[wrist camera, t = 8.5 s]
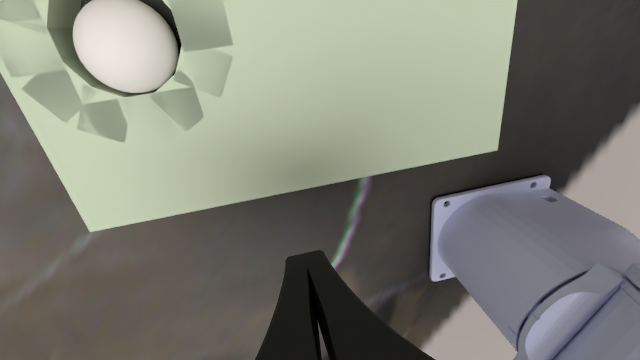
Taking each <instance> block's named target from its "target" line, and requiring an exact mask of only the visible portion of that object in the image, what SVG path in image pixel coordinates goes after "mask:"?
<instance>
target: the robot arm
mask: <svg viewBox="0 0 640 360" xmlns="http://www.w3.org/2000/svg"><path fill="white" fill-rule="evenodd" d="M550 182H551V179H550V177H548V176H546V175H540V176H536V177H531V178H526V179H522V180H517V181H512V182H508V183H503V184H498V185H493V186H489V187H484V188H479V189H475V190H470V191H465V192H461V193H456V194H451V195H447V196H442V197H438V198H436V199H434V201H433V202H432V215H431V244H430V273H429V276H430V278H431V280H432V281H440V280H444V279H448V278H452V277H456V278H457V279H458V280H459V281H460V282H461V284H462V285H463V286H464V287H465V289H466V290H467V291H468V292H469V293H470V295H471V296H472V297H473V298H474V300H475V301H476V302H477V303H478V304H479V306H480V307H481V308H482V309H483V311H484V312H485V313H486V314H487V315H488V316H489V318H490V319H491V320H492V322H493V323H494V324H495V325H496V326H497V328H498V329H499V330H500V331H501V333H502V334H503V335H504V336H505V337H506V339H507V340H508V341H509V342H510V344H511V345H512V346H513V347H514V348H515V350H516V351H517V352H518V353H517V355H516V357H515V358H514V360H640V240H639V239H638V238H637V237H636V236H635V235H634V234H632V233H631V232H630V231H628V230H627V229H625V228H623V227H622V226H620V225H618V224H616V223H615V222H613V221H611V220H609V219H607V218H605V217H603V216H601V215H599V214H597V213H595V212H594V211H592V210H590V209H588V208H586V207H584V206H582V205H580V204H578V203H576V202H574V201H573V200H571V199H568V198H567V197H565V196H563V195H561V194H559V193H557V192H555V191H553V190H552V189H550V188H549V187H550ZM446 201H447V203H446V204H444V203H445V202H446ZM317 320H318V321H317ZM318 323H319V327H320V330H321V333H322V336H323V340H324V343H325V346H326V349H327V353H328V356H329V359H330V360H435V359H433V358H432V357H430V356H429V355H427V354H426V353H424V352H423V351H421V350H420V349H419V348H417V347H416V346H414V345H413V344H412V343H410V342H409V341H408V340H406V339H405V338H403V337H402V336H401V335H399V334H398V333H397V332H395V331H394V330H393V329H392V328H391V327H389V326H388V325H387V324H386V323H385V322H383V321H382V320H381V319H380V318H379V317H378V316H377V315H375V314H374V313H373V312H372V311H371V310H370V309H369V308H368V307H367V306H366V305H365V304H364V303H363V302H362V301H361V300H360V299H359V298H358V297H357V296H356V295H355V294H354V293H353V291H352V290H351V289H350V288H349V287H348V286H347V285H346V283H345V282H344V281H343V280H342V279H341V277H340V276H339V275H338V274H337V272H336V271H335V270H334V268H333V267H332V265H331V264H330V262H329V261H328V259H327V258H326V256H325V254H324V252H323V251H321V250H318V251H313V252H309V253H304V254H300V255H295V256H291V257H288V258H287V259H286V266H285V273H284V279H283V283H282V287H281V291H280V295H279V299H278V302H277V306H276V309H275V311H274V314H273V317H272V320H271V323H270V326H269V329H268V331H267V334H266V336H265V339H264V341H263V343H262V346H261V348H260V350H259V352H258V354H257V357H256V359H255V360H322V358H321V348H320V339H319V330H318Z"/></svg>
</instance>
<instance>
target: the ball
mask: <svg viewBox="0 0 640 360" xmlns="http://www.w3.org/2000/svg"><path fill="white" fill-rule="evenodd" d="M73 42H74V46H75V50H76V52H77V55H78V57H79V59H80V61H81V62H82V63H83V65H84V66H85V68H86V69H87V70H88V71H89V72H90V73H91V74H92V75H93V76H94V77H95V78H96V79H98V80H99V81H101V82H102V83H104V84H105V85H107V86H109V87H111V88H114V89H117V90H120V91H123V92H129V93H144V92H149V91H152V90H155V89H158V88H159V87H161V86H162V85H164V84H165V83H166V82H167V81H168V80H169V79H170V78H171V77H172V75H173V74H174V72H175V70H176V67H177V63H178V46H177V41H176V38H175V36H174V34H173V31H172V30H171V28H170V26H169V25H168V23H167V22H166V21H165V19H164V18H163V17H162V16H161V15H160V14H159V13H158V12H156V11H155V10H154V9H153V8H151V7H150V6H148V5H146V4H145V3H143V2H141V1H139V0H92V1H91V2H89V3H88V4H86V5H85V6H84V7H83V8H82V9H81V10H80V12H79V13H78V15H77V17H76V19H75V22H74V26H73Z"/></svg>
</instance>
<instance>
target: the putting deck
mask: <svg viewBox="0 0 640 360" xmlns="http://www.w3.org/2000/svg"><path fill="white" fill-rule="evenodd" d="M163 1H164V3H165V4H166V5H167V6H168V7H169V8H170V9H171V10H172V14H173V17H174V20H175V24H176V27H177V30H178V34H179V37H180V40H181V43H182V46H181V50H180V55H179V59H178V64H177V68H176V72H175V75H173V76H172V77H171V78H170V79H169V80H168V81H167V82H166V83H165V84H164V85H162V86H161V87H159V88H158V89H155V90H152V91H149V92H144V93H129V92H123V91H120V90H117V89H114V88H111V87H109V86H107V85H105V84H104V83H102V82H101V81H99V80H98V79H96V78H95V77H94V76H93V75H92V74H91V73H90V72H89V71H88V70H87V69H86V68H85V66H84V65H83V63H82V62H81V61H80V59H79V57H78V55H77V52H76V50H75V46H74V42H73V26H74V22H75V19H76V17H77V15H78V13H79V12H80V9H81V0H0V72H1V74H2V76H3V78H4V80H5V81H6V83H7V85H8V87H9V88H10V90H11V92H12V94H13V96H14V97H15V99H16V101H17V103H18V104H19V106H20V108H21V110H22V112H23V113H24V115H25V117H26V119H27V121H28V122H29V124H30V126H31V128H32V129H33V131H34V133H35V135H36V137H37V138H38V140H39V142H40V144H41V145H42V147H43V149H44V151H45V153H46V154H47V156H48V158H49V160H50V161H51V163H52V165H53V167H54V169H55V170H56V172H57V174H58V176H59V178H60V179H61V181H62V183H63V185H64V186H65V188H66V190H67V192H68V194H69V195H70V197H71V199H72V201H73V202H74V204H75V206H76V208H77V210H78V211H79V213H80V215H81V217H82V219H83V220H84V222H85V224H86V226H87V227H88V229H89V231H90V232H93V231H98V230H103V229H108V228H113V227H118V226H123V225H128V224H133V223H138V222H143V221H148V220H153V219H158V218H163V217H168V216H173V215H178V214H183V213H188V212H193V211H198V210H203V209H208V208H213V207H218V206H223V205H228V204H233V203H238V202H243V201H248V200H253V199H258V198H263V197H268V196H273V195H277V194H282V193H287V192H292V191H297V190H302V189H307V188H312V187H317V186H322V185H327V184H332V183H337V182H342V181H347V180H352V179H357V178H362V177H367V176H372V175H377V174H382V173H387V172H392V171H397V170H402V169H407V168H412V167H417V166H422V165H427V164H432V163H437V162H442V161H447V160H452V159H457V158H462V157H467V156H472V155H477V154H482V153H487V152H492V151H497V150H498V143H499V136H500V128H501V121H502V113H503V106H504V98H505V91H506V83H507V75H508V68H509V60H510V53H511V45H512V38H513V30H514V23H515V15H516V8H517V0H163Z"/></svg>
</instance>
